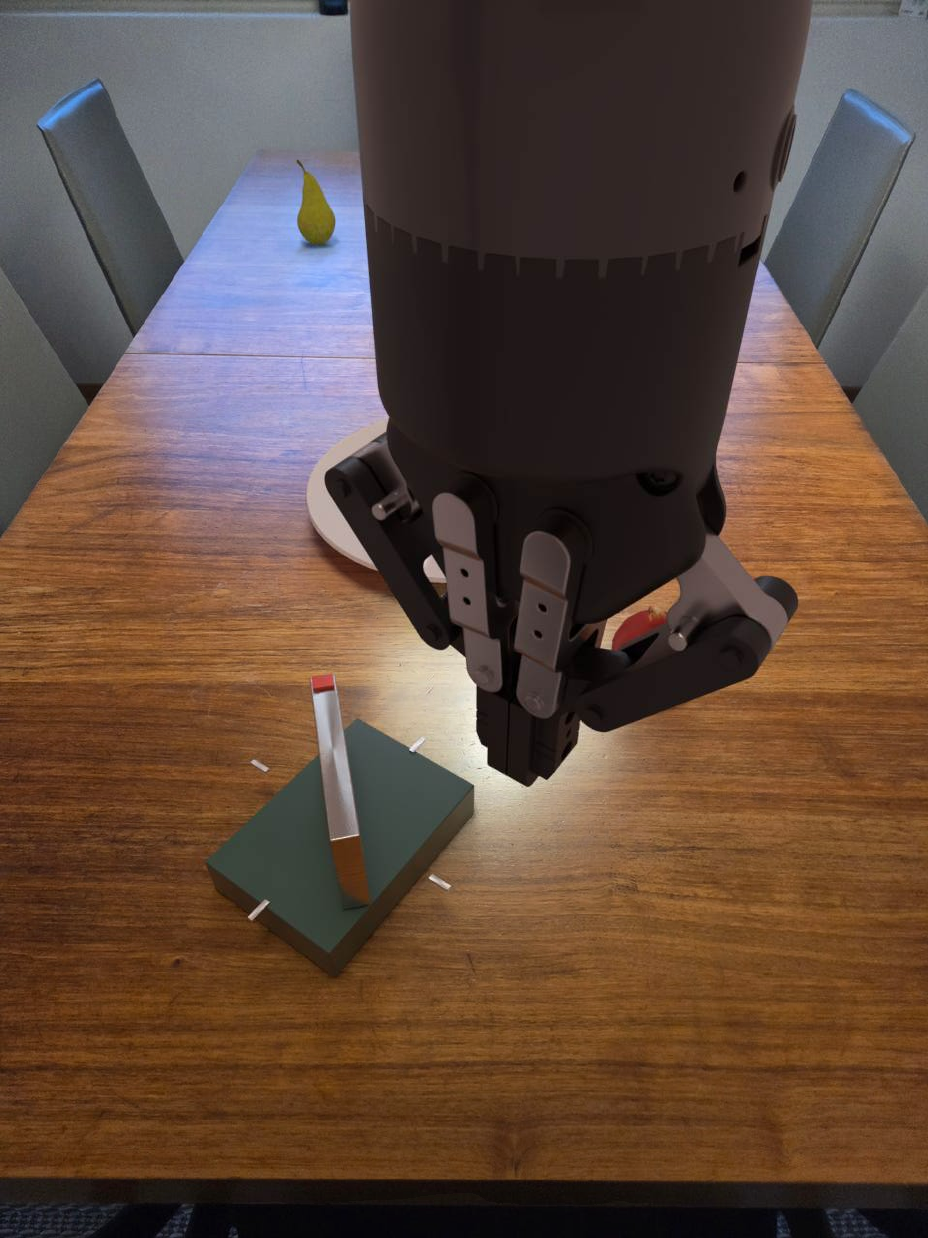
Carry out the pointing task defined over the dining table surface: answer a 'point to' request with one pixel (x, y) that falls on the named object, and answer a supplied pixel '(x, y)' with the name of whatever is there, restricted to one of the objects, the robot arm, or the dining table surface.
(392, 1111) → the dining table surface
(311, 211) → the fruit
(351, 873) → the upright slab
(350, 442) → the plate
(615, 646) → the onion
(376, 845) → the base block
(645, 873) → the dining table surface
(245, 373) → the dining table surface
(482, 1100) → the dining table surface
